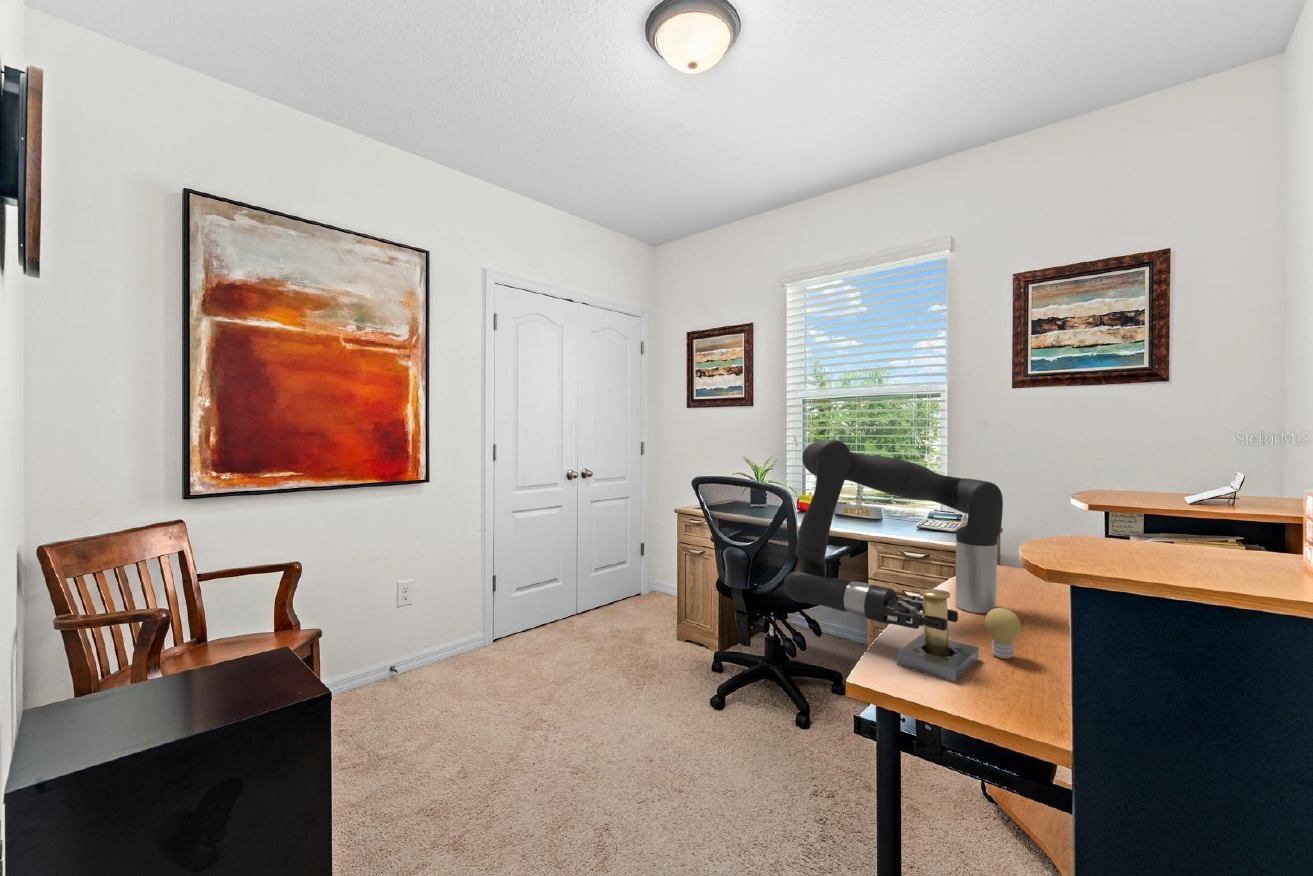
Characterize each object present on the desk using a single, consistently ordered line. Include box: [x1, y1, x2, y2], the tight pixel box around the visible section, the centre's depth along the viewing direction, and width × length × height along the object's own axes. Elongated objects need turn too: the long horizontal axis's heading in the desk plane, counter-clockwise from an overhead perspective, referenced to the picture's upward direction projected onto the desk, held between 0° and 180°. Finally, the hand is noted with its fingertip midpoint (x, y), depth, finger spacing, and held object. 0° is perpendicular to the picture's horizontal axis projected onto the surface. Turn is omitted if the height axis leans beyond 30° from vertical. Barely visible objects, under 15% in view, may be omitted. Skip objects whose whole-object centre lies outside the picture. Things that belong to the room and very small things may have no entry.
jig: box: [896, 632, 980, 684], centre depth 115 cm, size 14×11×2 cm
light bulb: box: [984, 607, 1022, 660], centre depth 117 cm, size 6×6×10 cm
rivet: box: [919, 588, 951, 657], centre depth 115 cm, size 6×6×14 cm
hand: (951, 621), depth 113 cm, fingers open, 5 cm apart
